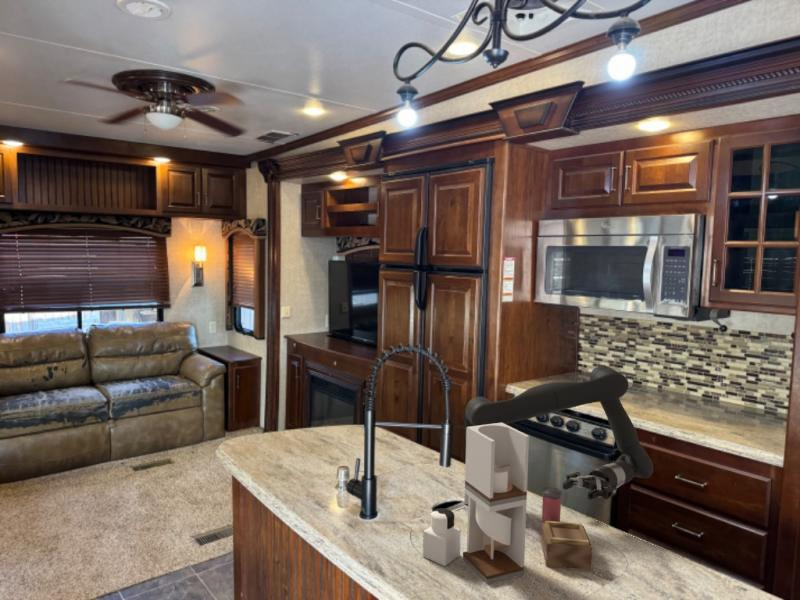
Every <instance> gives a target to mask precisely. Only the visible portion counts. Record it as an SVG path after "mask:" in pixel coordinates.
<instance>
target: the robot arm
mask: <svg viewBox="0 0 800 600" xmlns="http://www.w3.org/2000/svg"><path fill="white" fill-rule="evenodd" d="M629 386H630V384H629V381H628V379H627V377H626V376H625V375H624V374H622V373H621V372H619V371H618V370H616V369H614V368H612V367H610V366H608V365H607V366H606V365H599V366H596V367H595V368H594V369H592V371H591V373H590V375H589V379H588V380H585V381H551V382H548V383H541V384H538V385H535V386H532V387H530V388H528V389H526V390H525V391H522V392H521V393H519V394H517V395H516V396H514V397H512V398H508V399H504V400H499V401H491V400H489V398H487V397H485V396H475V397H473V398H471V399H470V400H469V401H468V402H467V405H466V407H465V414H464V437H465V439H466V430H467V427H470V426H478V425H486V424H494V423H504V424H506V425H509V424H512V423H515V422H518V421H523V420H527V419H532V418H535V417H539V416H545V415H549V414H554V413H557V412H560V411H564V410H568V409H573V408H575V407H579V406H583V405H589V404H592V403H593V404H594V403H600V404H601V407H602V409H603V411H604V413H605V416H606V419H607V421H608V424H609V426H610V428H611V431H612V435H613V437H614V440H615V443H616V446H617V447H616V448H617V449H618V450H619V452H621V453H622V454H621V455H619V457H618V458H617V459H616V460H615V461H614V462H611V463H607V464H604V465H602V466H599V467H597V468H595V469H594V468H593V469H592V470H591V471H590V472H589V474H588V475H581V472H580V471H576V472H573V473H569V474H566V476H565V477H566V478H565V481H563V482H562V488H563V490H565V491H567V490H569V489H571V488H578V489H587V490H590V491H588V492H587V499H588V500H589V501H592V500H594V499H597V498H603V499H604V500H608V499H611V498H612V497H614V496H616V495H617V489H618V488H619V487H621V486H622V485H625V484H627V483H629V482H630V481H631V480H632V479H633V478H634V477H635V478H640V479H649V478H650V477H651V476H652V474H653V473H654V464H653V461H652V459H651V457H650V456H649V453H648V452H647V451H646V450H645V448H644V447H643V445H642V444H641V443H640V439H639V438H638V434H637V431H636V428H635V425H634V424H633V422H632V420H631V418H630V416H629V414H628V413H627V411H626V410H625V408H624V406H623V404H622V402H621V400H620V399H621V397H623V396H625V394H627V392H628V389H629ZM581 481H582V483H581ZM468 497H469V496H468V495H467V494H465V493H464V505H468Z"/></svg>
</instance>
